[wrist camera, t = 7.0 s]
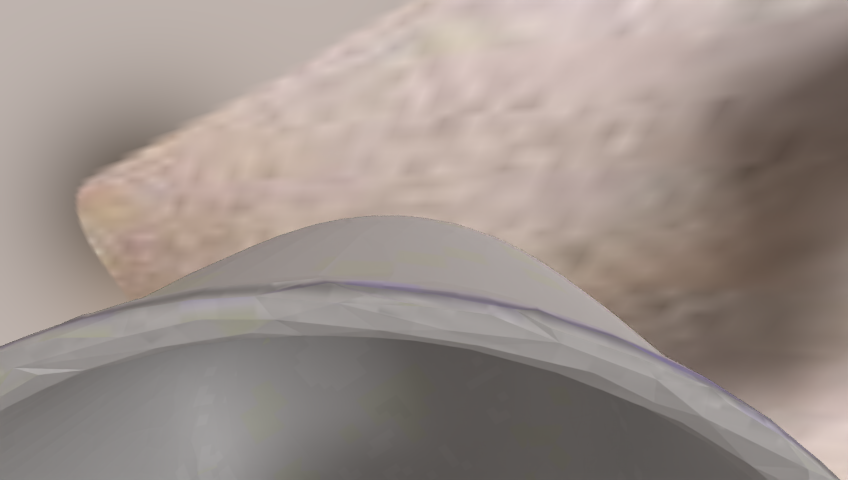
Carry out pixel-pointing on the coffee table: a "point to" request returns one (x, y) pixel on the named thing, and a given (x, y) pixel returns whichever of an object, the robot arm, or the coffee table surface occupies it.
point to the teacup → (372, 375)
